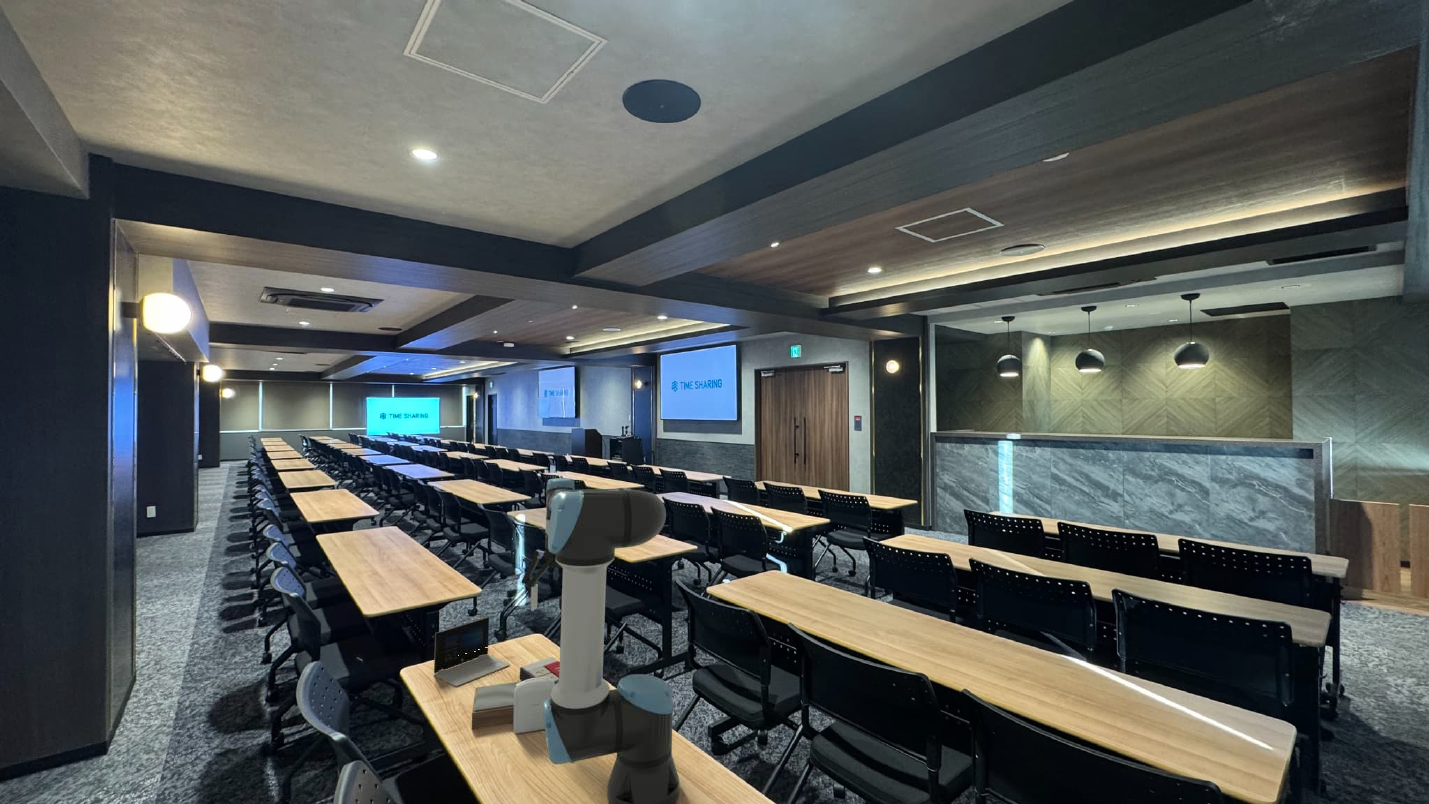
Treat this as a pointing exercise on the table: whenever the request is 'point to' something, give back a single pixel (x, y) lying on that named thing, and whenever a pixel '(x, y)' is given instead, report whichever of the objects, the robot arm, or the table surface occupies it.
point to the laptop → (460, 643)
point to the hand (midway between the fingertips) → (557, 610)
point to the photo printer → (531, 703)
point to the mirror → (493, 705)
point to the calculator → (541, 670)
